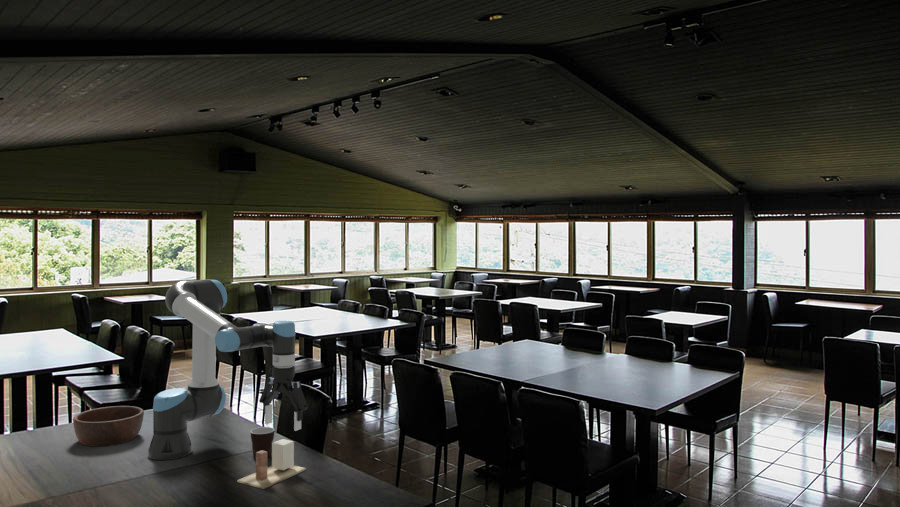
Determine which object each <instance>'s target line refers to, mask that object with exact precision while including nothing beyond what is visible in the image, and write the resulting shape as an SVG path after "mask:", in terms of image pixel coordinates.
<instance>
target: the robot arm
mask: <svg viewBox="0 0 900 507" xmlns="http://www.w3.org/2000/svg"><path fill="white" fill-rule="evenodd" d="M164 300H165V306H166V307H167V309H168V310H169V311H170V312H171V313H172V314H173V315H175V316H176V317H179V318H185V319H186V320H187V321H189V322H190V323H191V324H192V351H191V352H192V355H191V357H192V358H191V360H192V361H191V370H192V371H191V380H190V381H189V382H188V383H187V389H186V388H185V387H176V388H168V389H166V390H163V391H160V392H158V393H157V394H156V395H155V396H154V397H153V406H152V410H153V412H152V413H153V414H152V415H153V416H152V417H153V419H152V420H153V422H152V423H153V425H152V426H153V431H152V432H153V435H152V438H151V441H150V445H149V446H148V450H147V457H148V458H149V459H151V460H157V461H158V460H159V461H169V460H175V459H180V458H183V457H186V456H188V455H190V454H191V453H192V452H193V443H192V440H191V439H190V436H189V433H188V432H189V431H188V423H189V422H194V421H198V420H201V419H205V418H211V417H213V416H216V415H218V414H220V413H221V411H222V410H223V409H224V407H225V406H226V401H227V400H226V399H227V395H226V392H225V389H224V387H223V386H222V385H220V381H219V380H218V379H217V378H216V376H217V375H216V373H217V371H216V368H217V367H216V362H217V361H216V359H217V357H216V356H217V350H218V351H219V352H222V353H228V352H229V353H231V352H232V353H233V352H235V351H241V350H246V349H253V348H254V349H255V348H260V347H269V348H272V366H273V367H272V374H271V375H272V376H270V377H267V378H266V380H265V386H264V388H263V391H262V392H261V395H260V398H259V403H261V404H263V414H264V424H265V425H269V424H272V423H273V404H272V402H273V401H274V399H275V398H276V396H277V395H278V393H279V394H280V393H281V394H283V395H284V394H285V395H286V396H288V398H289V401H290V403H291V404H292V406H293V408H294V410H295V411H294V412H293V413H294V415H293V419H294V420H293V422H294V424H293V429H294V430H293V431H295V432H297V431H299V430H302V421H303V418H304V416H303V412H304V411H306V410H307V409H308V408H309V407H308V405H307V401H306V398H305V395H304V392H303V390H302V383H301V382H302V381H300V380H299V381H294V377H295V376H296V374H295V373H296V372H295V369H296V368H295V364H296V355H295V354H296V334H297V333H296V324H295V322H294V321H291V320H277V321H274V322H272V323H273V324H272V325H271V324H265V323H254V324H252V325H251V326H243V327H242V326H241V327H238V326H237V325H234V323H232V322H230V321H229V320H227V319H226V318H224V317H223V316H221V309H223V308H224V307H225V306H226V304H227V302H228V293H227V290H226V287H225V286H224V284H223V283H222V282H221V281H219V280H217V279H208V278H207V279H206V278H205V279H198V280H197V279H196V280H194V279H193V280H192V279H191V280H181V281H177V282H175V283H174V284H172V285H171V286H170V287H169V288H168V289H167V291H166V294H165V297H164Z"/></svg>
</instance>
